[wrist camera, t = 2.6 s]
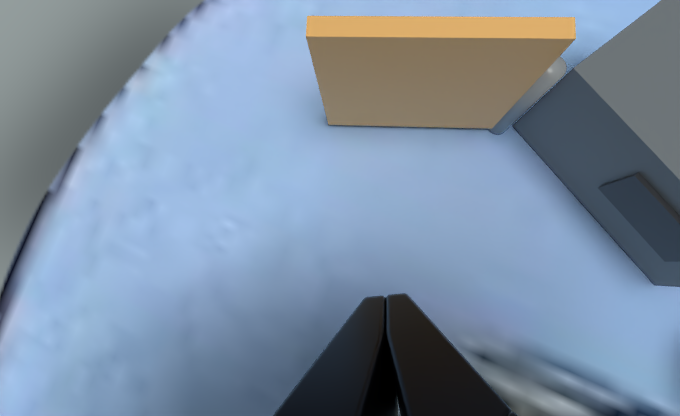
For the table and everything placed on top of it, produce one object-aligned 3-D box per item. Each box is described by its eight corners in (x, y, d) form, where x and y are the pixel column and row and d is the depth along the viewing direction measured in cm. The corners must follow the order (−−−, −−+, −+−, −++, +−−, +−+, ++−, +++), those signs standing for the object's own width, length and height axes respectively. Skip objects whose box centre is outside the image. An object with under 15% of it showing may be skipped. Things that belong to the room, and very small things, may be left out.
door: (507, 115, 20) (605, 12, 12) (507, 134, 20) (607, 43, 12) (329, 111, 21) (307, 11, 13) (329, 130, 21) (305, 40, 13)
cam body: (651, 287, 19) (811, 300, 12) (509, 128, 20) (581, 60, 14) (742, 214, 19) (948, 185, 12) (595, 61, 21) (707, -38, 14)
